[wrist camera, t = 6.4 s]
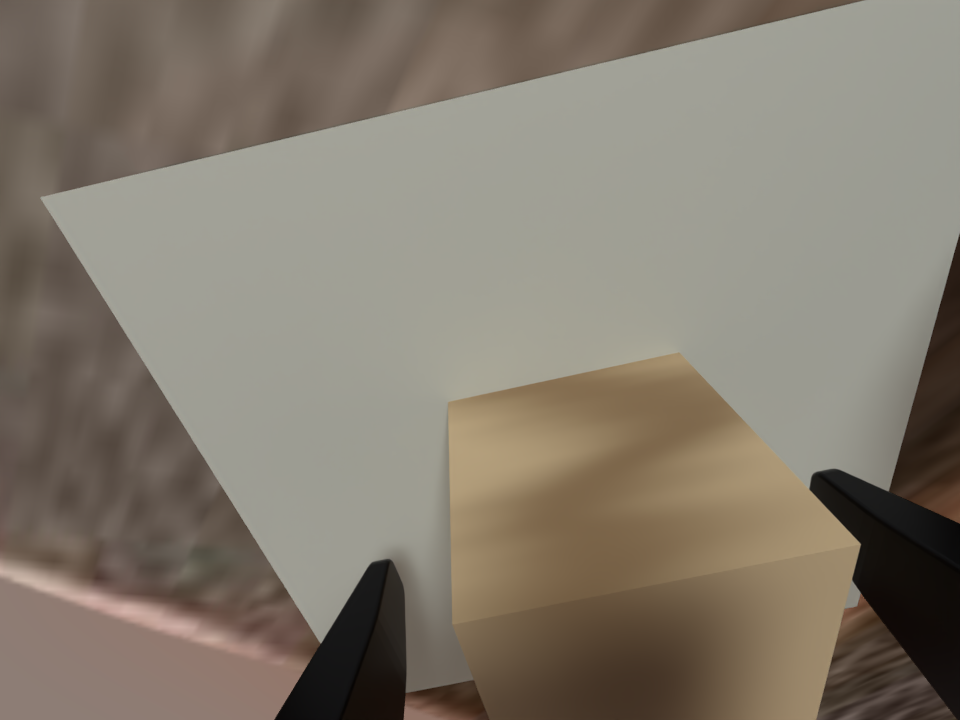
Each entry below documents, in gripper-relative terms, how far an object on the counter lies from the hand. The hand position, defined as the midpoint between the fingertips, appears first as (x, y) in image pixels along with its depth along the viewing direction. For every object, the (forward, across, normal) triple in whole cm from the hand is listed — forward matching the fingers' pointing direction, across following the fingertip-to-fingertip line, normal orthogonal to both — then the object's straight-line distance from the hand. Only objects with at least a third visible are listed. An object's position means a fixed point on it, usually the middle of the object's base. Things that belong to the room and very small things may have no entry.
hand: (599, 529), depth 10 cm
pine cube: (+2, 0, 0) cm, 2 cm away
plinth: (+5, 0, 0) cm, 5 cm away
